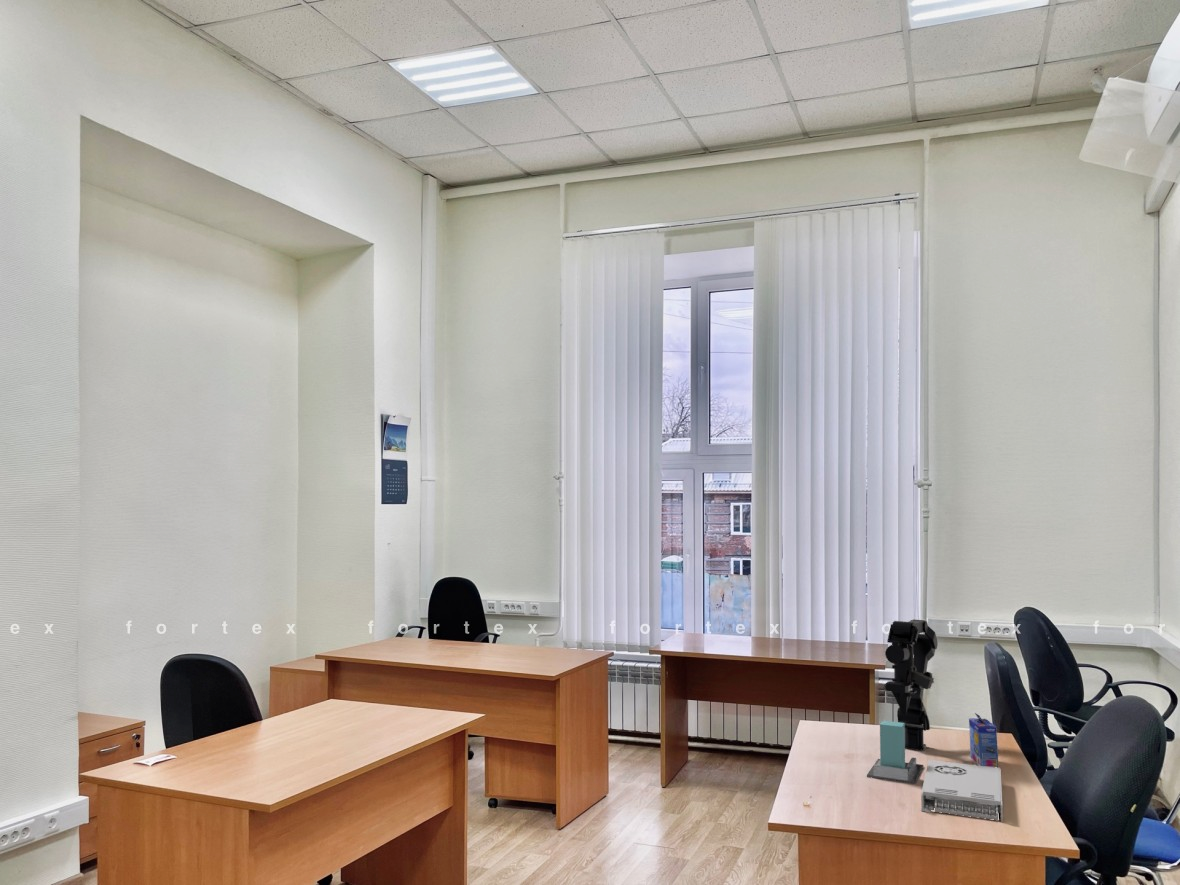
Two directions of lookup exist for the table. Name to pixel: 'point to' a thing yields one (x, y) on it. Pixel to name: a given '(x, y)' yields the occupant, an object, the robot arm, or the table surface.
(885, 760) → the block
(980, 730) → the ink cartridge box
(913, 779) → the chute
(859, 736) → the table surface
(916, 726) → the robot arm
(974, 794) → the power supply unit
